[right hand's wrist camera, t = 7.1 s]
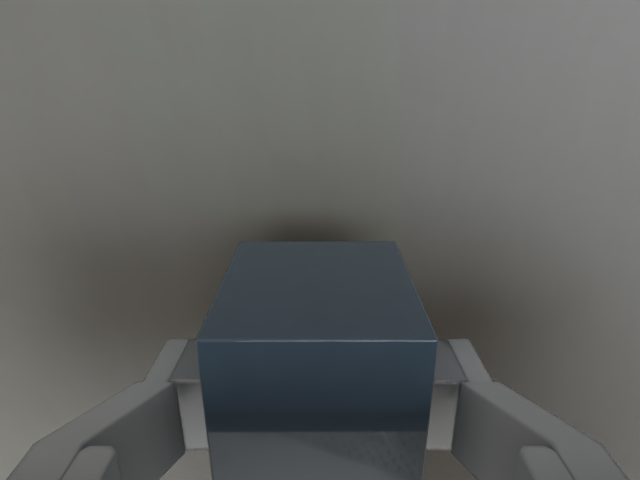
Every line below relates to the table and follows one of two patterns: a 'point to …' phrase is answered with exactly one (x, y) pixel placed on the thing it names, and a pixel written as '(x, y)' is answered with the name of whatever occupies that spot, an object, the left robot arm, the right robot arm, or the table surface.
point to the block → (317, 364)
